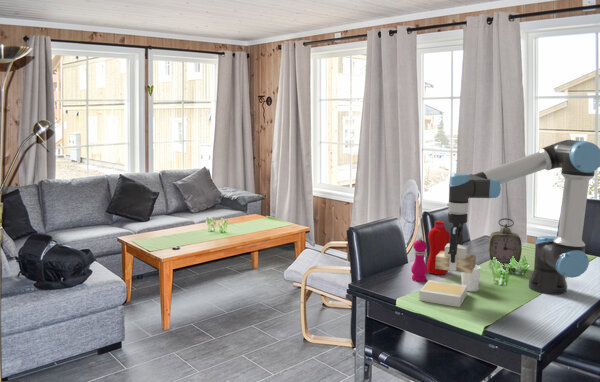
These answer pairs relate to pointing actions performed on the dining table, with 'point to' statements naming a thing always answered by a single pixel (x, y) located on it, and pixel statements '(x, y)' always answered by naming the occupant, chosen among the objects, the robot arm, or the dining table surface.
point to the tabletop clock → (505, 244)
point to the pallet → (462, 264)
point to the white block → (458, 251)
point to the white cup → (471, 279)
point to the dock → (443, 293)
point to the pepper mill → (419, 261)
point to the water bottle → (437, 246)
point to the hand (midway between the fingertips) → (455, 266)
